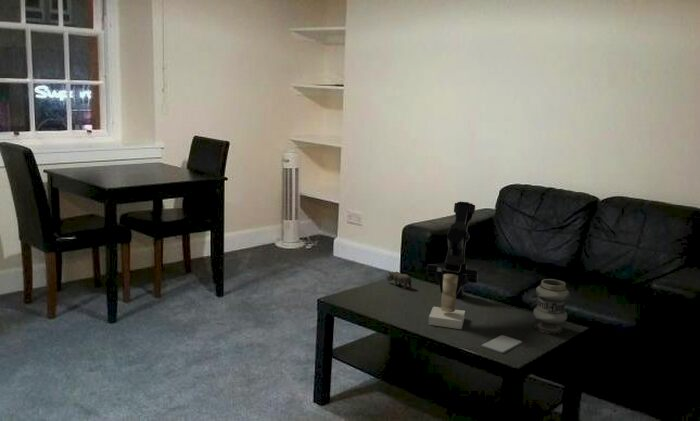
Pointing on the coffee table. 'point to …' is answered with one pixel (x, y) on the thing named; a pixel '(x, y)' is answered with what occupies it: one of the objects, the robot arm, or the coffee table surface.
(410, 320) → the coffee table surface
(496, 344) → the smartphone
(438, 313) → the cream plinth
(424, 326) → the coffee table surface
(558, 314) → the apothecary jar
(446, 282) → the birch pillar
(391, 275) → the rhino figurine
